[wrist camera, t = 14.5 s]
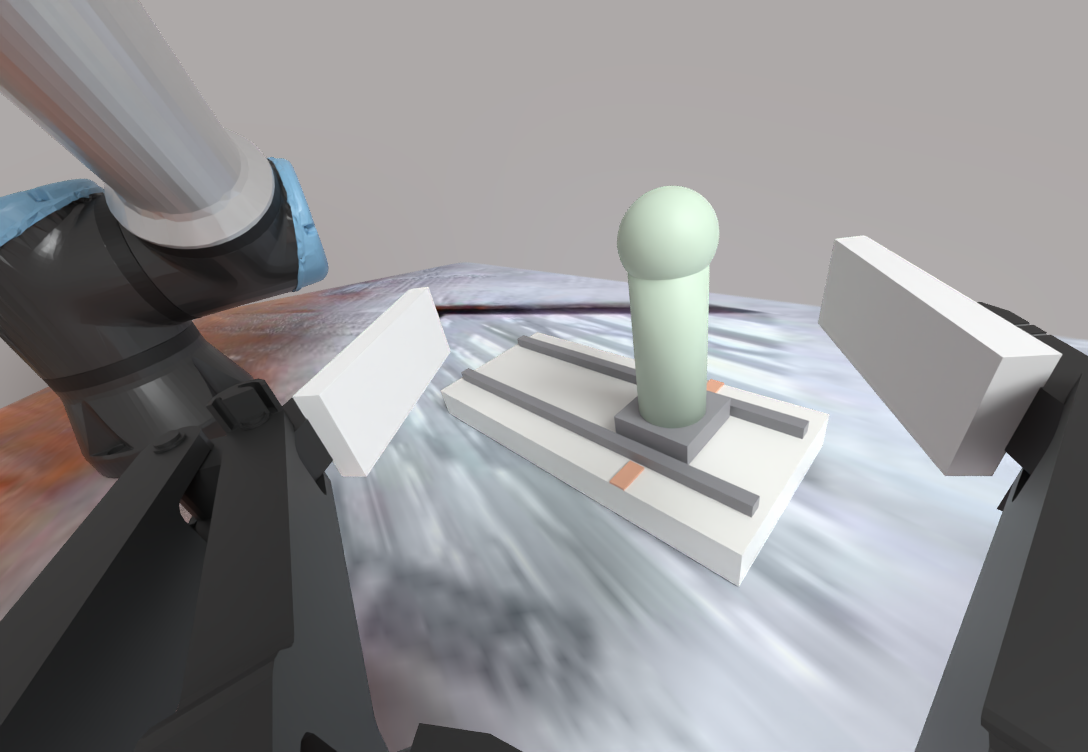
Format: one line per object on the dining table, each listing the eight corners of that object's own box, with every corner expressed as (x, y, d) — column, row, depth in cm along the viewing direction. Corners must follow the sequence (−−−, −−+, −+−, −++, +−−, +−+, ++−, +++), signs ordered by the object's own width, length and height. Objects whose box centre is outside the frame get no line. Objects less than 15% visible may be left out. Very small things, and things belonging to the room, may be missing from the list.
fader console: (449, 413, 37) (437, 383, 36) (541, 353, 44) (535, 325, 42) (738, 586, 20) (743, 544, 18) (822, 445, 26) (831, 403, 25)
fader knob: (616, 434, 27) (587, 202, 19) (660, 394, 30) (649, 177, 22) (687, 466, 23) (685, 200, 16) (729, 417, 26) (744, 171, 19)
